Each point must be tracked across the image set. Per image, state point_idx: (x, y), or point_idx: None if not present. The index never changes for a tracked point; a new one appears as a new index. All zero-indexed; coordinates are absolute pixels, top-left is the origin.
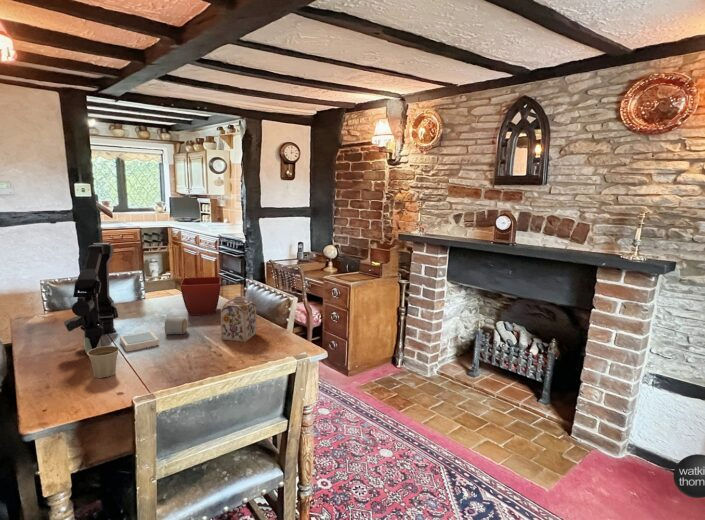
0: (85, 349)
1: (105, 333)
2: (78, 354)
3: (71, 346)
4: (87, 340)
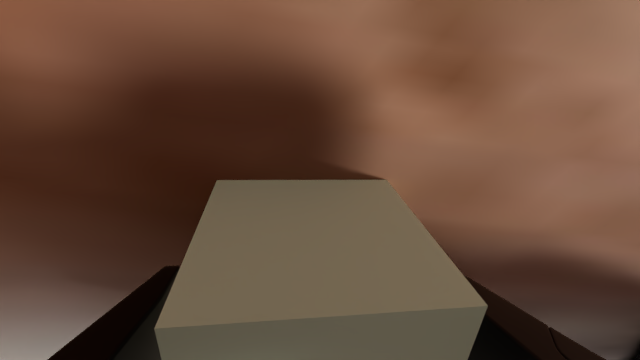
0: (270, 193)
1: (637, 357)
2: (195, 86)
3: (596, 58)
4: (166, 358)
